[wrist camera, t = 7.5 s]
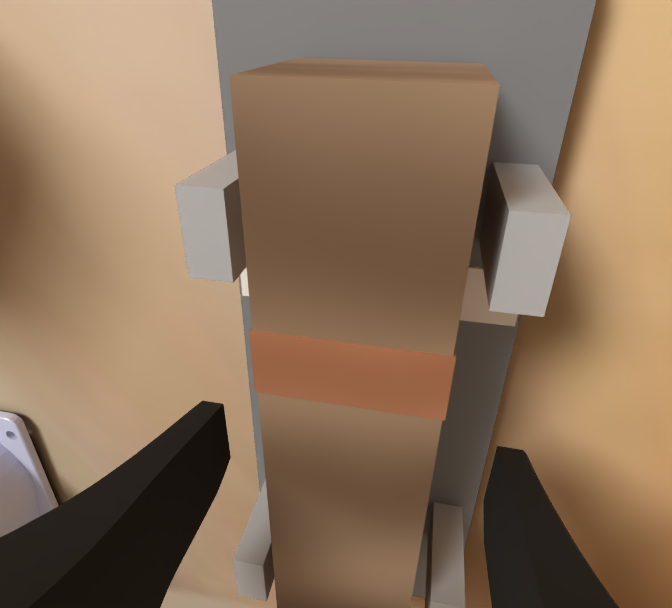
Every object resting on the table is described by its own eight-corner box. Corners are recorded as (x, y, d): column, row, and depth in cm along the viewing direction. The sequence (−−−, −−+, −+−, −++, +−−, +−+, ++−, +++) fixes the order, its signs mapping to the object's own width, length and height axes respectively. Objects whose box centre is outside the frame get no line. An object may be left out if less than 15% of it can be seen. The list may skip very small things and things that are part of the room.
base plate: (451, 580, 21) (452, 704, 17) (274, 544, 22) (237, 652, 18) (594, -44, 10) (687, -89, 6) (225, -41, 11) (110, -77, 7)
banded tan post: (408, 563, 19) (399, 681, 16) (308, 543, 20) (279, 652, 17) (485, 63, 10) (503, 85, 7) (296, 57, 11) (224, 75, 7)
